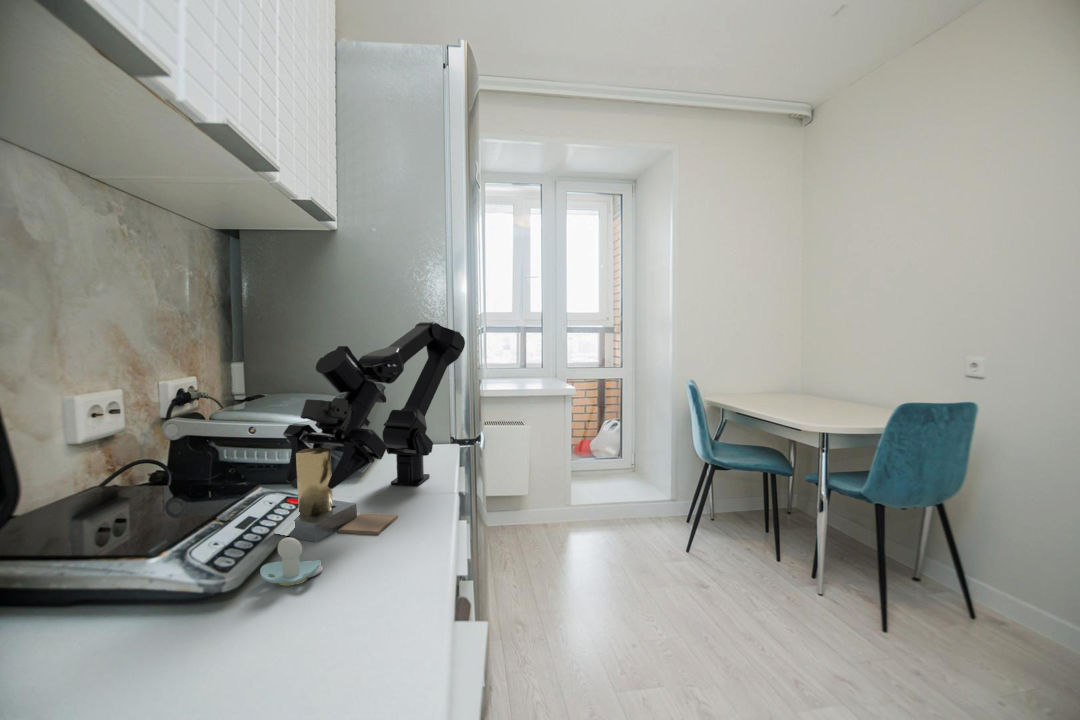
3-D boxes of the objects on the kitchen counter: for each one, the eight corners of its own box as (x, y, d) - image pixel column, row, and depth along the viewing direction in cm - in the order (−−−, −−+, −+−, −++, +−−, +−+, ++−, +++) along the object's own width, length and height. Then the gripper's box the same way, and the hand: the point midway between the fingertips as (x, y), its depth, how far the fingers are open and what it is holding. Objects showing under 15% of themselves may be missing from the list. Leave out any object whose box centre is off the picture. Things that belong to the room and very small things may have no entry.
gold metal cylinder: (312, 518, 82) (309, 447, 81) (339, 520, 81) (336, 447, 80) (292, 531, 77) (288, 455, 76) (321, 533, 76) (317, 455, 75)
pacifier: (278, 569, 65) (254, 591, 59) (277, 525, 65) (253, 543, 59) (331, 567, 66) (313, 589, 60) (330, 523, 65) (312, 541, 59)
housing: (317, 513, 84) (317, 497, 84) (357, 520, 81) (356, 503, 81) (273, 534, 76) (272, 516, 76) (315, 542, 73) (314, 523, 73)
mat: (361, 515, 83) (361, 512, 83) (398, 517, 82) (398, 514, 82) (338, 532, 76) (338, 529, 76) (378, 534, 75) (378, 531, 75)
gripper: (289, 379, 84) (233, 454, 75) (372, 382, 78) (323, 465, 68) (325, 415, 92) (279, 487, 82) (403, 420, 85) (363, 499, 76)
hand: (308, 484), depth 77 cm, fingers open, 9 cm apart
